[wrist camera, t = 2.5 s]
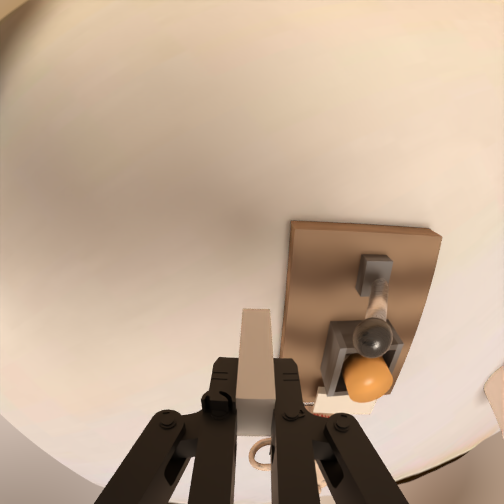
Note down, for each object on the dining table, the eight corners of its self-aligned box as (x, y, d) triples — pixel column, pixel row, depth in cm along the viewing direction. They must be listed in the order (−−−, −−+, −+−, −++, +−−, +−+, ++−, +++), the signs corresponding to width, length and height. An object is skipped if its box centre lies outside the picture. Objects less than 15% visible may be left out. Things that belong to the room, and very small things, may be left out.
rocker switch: (318, 386, 27) (318, 393, 26) (377, 389, 26) (378, 395, 25) (313, 405, 28) (313, 412, 27) (369, 407, 27) (370, 414, 26)
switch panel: (291, 220, 25) (302, 246, 19) (429, 228, 25) (466, 252, 19) (275, 387, 32) (278, 430, 26) (384, 380, 32) (400, 417, 26)
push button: (346, 349, 23) (355, 373, 21) (387, 346, 23) (399, 368, 21) (337, 381, 25) (344, 404, 22) (375, 378, 25) (384, 399, 22)
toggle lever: (368, 267, 22) (354, 328, 14) (397, 272, 21) (397, 336, 13) (363, 294, 23) (345, 361, 15) (391, 299, 22) (384, 370, 14)
